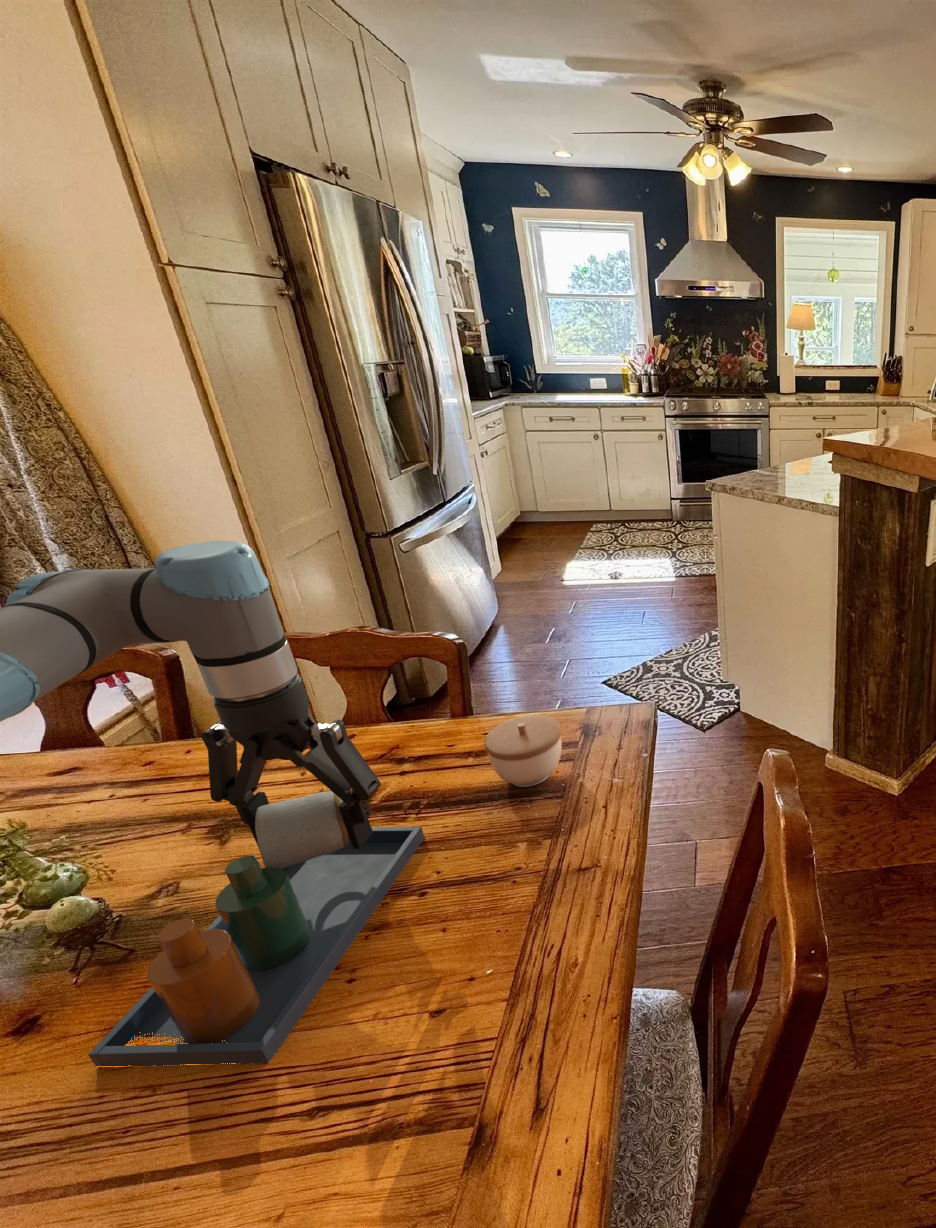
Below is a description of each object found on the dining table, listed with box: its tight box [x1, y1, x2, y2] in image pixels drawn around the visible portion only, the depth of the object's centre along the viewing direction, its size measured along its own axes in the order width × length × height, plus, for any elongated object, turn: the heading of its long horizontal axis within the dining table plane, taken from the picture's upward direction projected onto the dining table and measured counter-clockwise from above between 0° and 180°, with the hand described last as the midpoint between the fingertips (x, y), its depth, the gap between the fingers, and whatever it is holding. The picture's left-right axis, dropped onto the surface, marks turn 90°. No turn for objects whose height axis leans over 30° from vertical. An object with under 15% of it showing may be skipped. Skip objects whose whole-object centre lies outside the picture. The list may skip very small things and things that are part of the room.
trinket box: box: [484, 714, 563, 788], centre depth 101 cm, size 11×11×9 cm
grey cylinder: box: [255, 790, 351, 869], centre depth 78 cm, size 11×8×8 cm
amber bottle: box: [146, 918, 260, 1044], centre depth 64 cm, size 6×6×12 cm
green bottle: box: [214, 854, 311, 971], centre depth 71 cm, size 6×6×12 cm
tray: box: [87, 826, 425, 1067], centre depth 75 cm, size 16×30×3 cm, turn 3°
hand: (317, 841), depth 79 cm, fingers closed on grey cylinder, 10 cm apart
